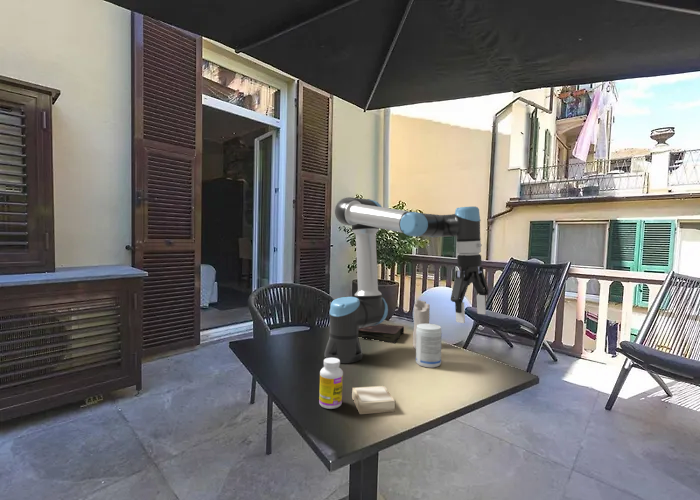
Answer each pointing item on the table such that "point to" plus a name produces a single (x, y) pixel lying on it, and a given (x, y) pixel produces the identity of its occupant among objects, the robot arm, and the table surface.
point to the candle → (420, 316)
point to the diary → (382, 332)
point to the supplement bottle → (331, 384)
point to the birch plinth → (373, 399)
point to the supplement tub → (428, 345)
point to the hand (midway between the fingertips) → (471, 318)
